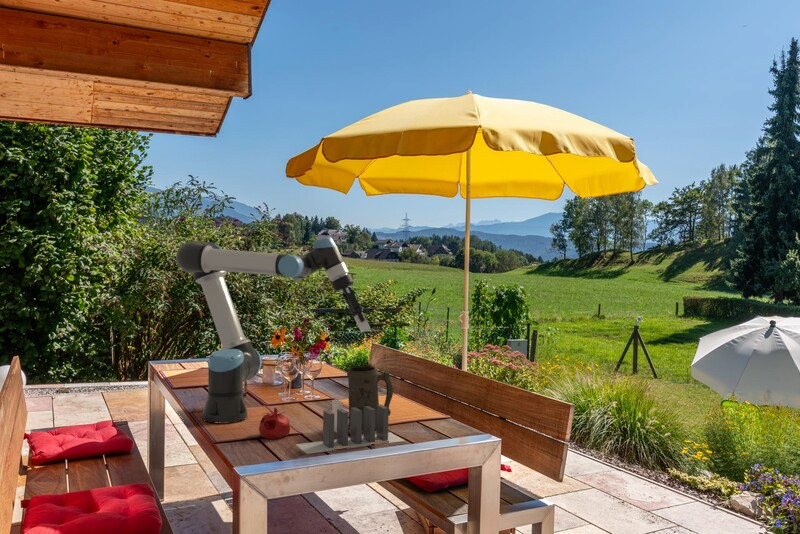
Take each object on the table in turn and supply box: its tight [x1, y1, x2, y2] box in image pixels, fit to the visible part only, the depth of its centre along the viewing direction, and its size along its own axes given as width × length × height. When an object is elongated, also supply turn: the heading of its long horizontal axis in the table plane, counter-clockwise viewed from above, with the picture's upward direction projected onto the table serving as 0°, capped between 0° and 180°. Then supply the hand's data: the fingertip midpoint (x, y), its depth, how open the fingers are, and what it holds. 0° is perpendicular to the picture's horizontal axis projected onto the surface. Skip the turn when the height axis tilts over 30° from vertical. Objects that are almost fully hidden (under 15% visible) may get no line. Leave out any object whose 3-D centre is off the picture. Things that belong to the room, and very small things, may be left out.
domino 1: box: [322, 409, 335, 448], centre depth 186 cm, size 2×5×10 cm, turn 28°
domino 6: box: [375, 404, 390, 441], centre depth 195 cm, size 2×5×10 cm, turn 28°
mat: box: [295, 432, 406, 455], centre depth 190 cm, size 32×10×1 cm, turn 118°
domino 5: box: [362, 406, 376, 443], centre depth 193 cm, size 2×5×10 cm, turn 28°
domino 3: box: [336, 408, 349, 446], centre depth 189 cm, size 2×5×10 cm, turn 28°
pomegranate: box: [258, 407, 291, 440], centre depth 196 cm, size 10×10×9 cm
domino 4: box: [349, 407, 363, 444], centre depth 191 cm, size 2×5×10 cm, turn 28°
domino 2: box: [331, 399, 344, 433], centre depth 203 cm, size 2×5×10 cm, turn 28°
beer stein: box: [346, 366, 394, 432], centre depth 209 cm, size 15×11×20 cm
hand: (365, 330), depth 223 cm, fingers open, 13 cm apart
